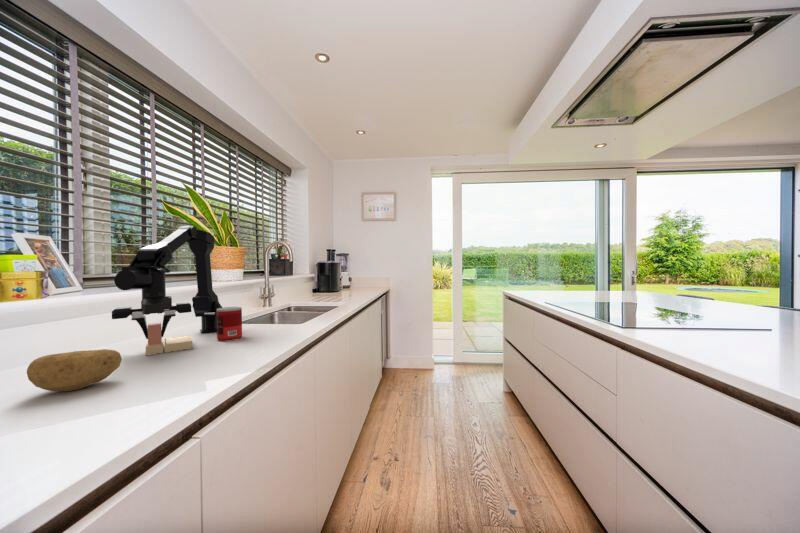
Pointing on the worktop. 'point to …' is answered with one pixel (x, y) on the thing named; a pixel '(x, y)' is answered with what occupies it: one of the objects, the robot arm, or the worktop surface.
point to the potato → (73, 369)
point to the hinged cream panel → (178, 343)
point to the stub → (154, 339)
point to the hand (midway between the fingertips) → (154, 337)
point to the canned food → (229, 323)
